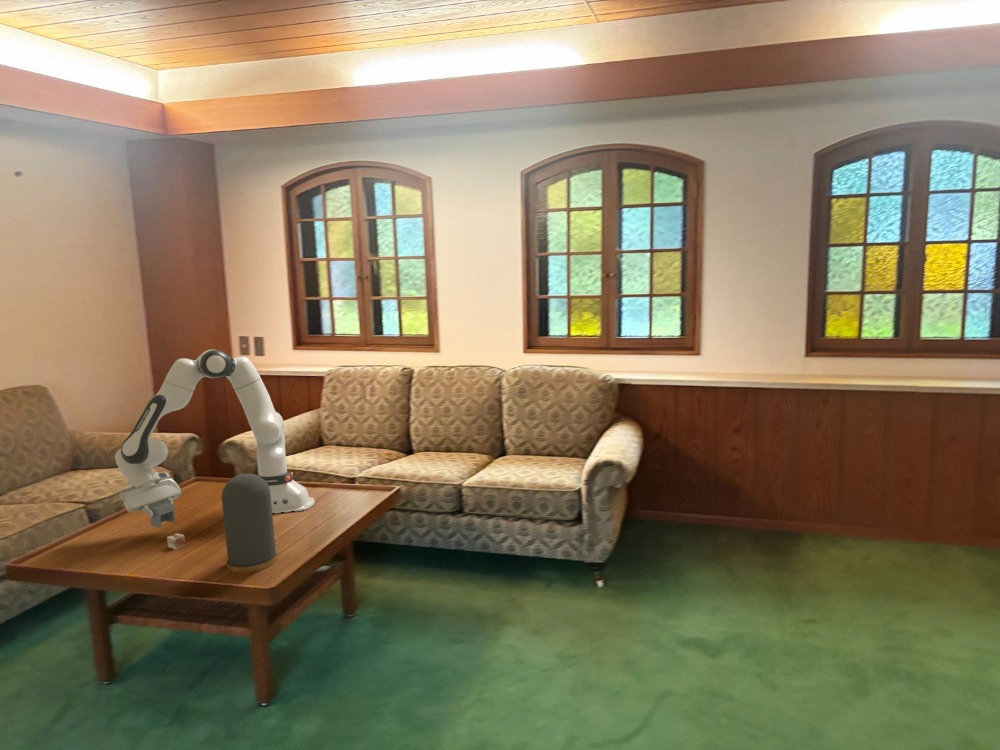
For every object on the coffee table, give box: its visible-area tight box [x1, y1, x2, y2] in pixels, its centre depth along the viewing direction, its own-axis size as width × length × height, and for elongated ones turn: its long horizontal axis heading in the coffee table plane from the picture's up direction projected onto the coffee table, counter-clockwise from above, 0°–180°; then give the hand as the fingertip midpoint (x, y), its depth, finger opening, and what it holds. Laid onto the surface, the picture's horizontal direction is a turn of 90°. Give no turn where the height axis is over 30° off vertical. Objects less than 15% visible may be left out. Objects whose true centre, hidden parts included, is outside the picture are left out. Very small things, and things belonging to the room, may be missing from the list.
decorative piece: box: [221, 473, 279, 574], centre depth 228 cm, size 16×16×30 cm
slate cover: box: [148, 502, 176, 529], centre depth 255 cm, size 6×6×7 cm
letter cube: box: [166, 533, 186, 550], centre depth 246 cm, size 4×4×4 cm
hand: (163, 512), depth 255 cm, fingers closed on slate cover, 6 cm apart
